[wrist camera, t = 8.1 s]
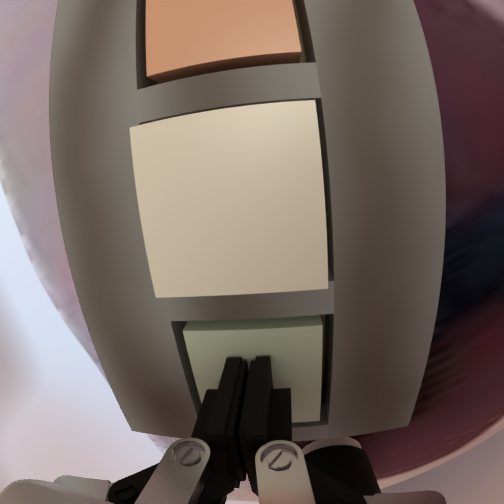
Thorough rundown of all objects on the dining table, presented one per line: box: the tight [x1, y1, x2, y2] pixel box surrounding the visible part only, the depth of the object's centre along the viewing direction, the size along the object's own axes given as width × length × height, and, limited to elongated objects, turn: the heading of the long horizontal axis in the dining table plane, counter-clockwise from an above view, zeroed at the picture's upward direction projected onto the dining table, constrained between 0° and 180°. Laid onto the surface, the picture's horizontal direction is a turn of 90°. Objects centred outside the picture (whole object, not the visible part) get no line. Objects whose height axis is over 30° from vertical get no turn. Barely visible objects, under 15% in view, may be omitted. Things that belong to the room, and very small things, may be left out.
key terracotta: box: [146, 0, 301, 84], centre depth 8 cm, size 5×5×2 cm
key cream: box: [130, 100, 328, 298], centre depth 9 cm, size 5×5×2 cm
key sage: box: [183, 315, 323, 423], centre depth 12 cm, size 5×5×2 cm
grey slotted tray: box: [49, 0, 446, 442], centre depth 11 cm, size 14×22×4 cm, turn 6°
